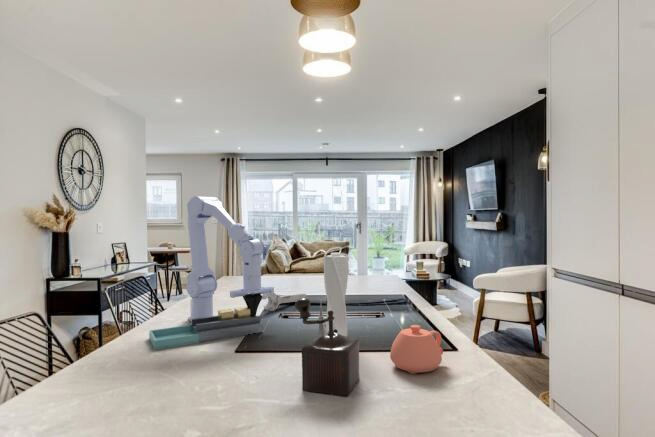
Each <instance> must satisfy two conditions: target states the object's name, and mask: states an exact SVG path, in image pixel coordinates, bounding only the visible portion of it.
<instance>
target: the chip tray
mask: <svg viewBox="0 0 655 437" xmlns="http://www.w3.org/2000/svg"><path fill="white" fill-rule="evenodd" d="M148 334H149V335H148V336H149V341H150V343H151V345H152V347H153V349H154V350H155V351H157V350H162V349H169V348H175V347H180V346H181V347H182V346H187V345H193V344H194V345H195V344H198V343H199V334H192V333H191V332H190V324H187V325H182V326H179V325H178V326H174V327H173V326H172V327H166V328H159V329H152V330H149V333H148ZM199 344H200V343H199Z"/></svg>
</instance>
